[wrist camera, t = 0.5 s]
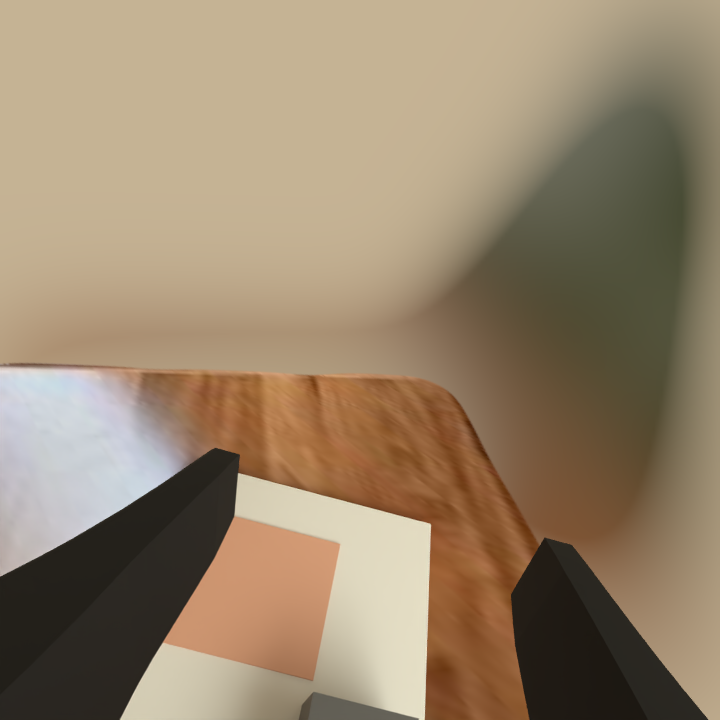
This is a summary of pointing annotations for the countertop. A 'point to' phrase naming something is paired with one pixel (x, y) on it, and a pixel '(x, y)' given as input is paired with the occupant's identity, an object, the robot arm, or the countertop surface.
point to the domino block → (344, 710)
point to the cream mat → (297, 614)
